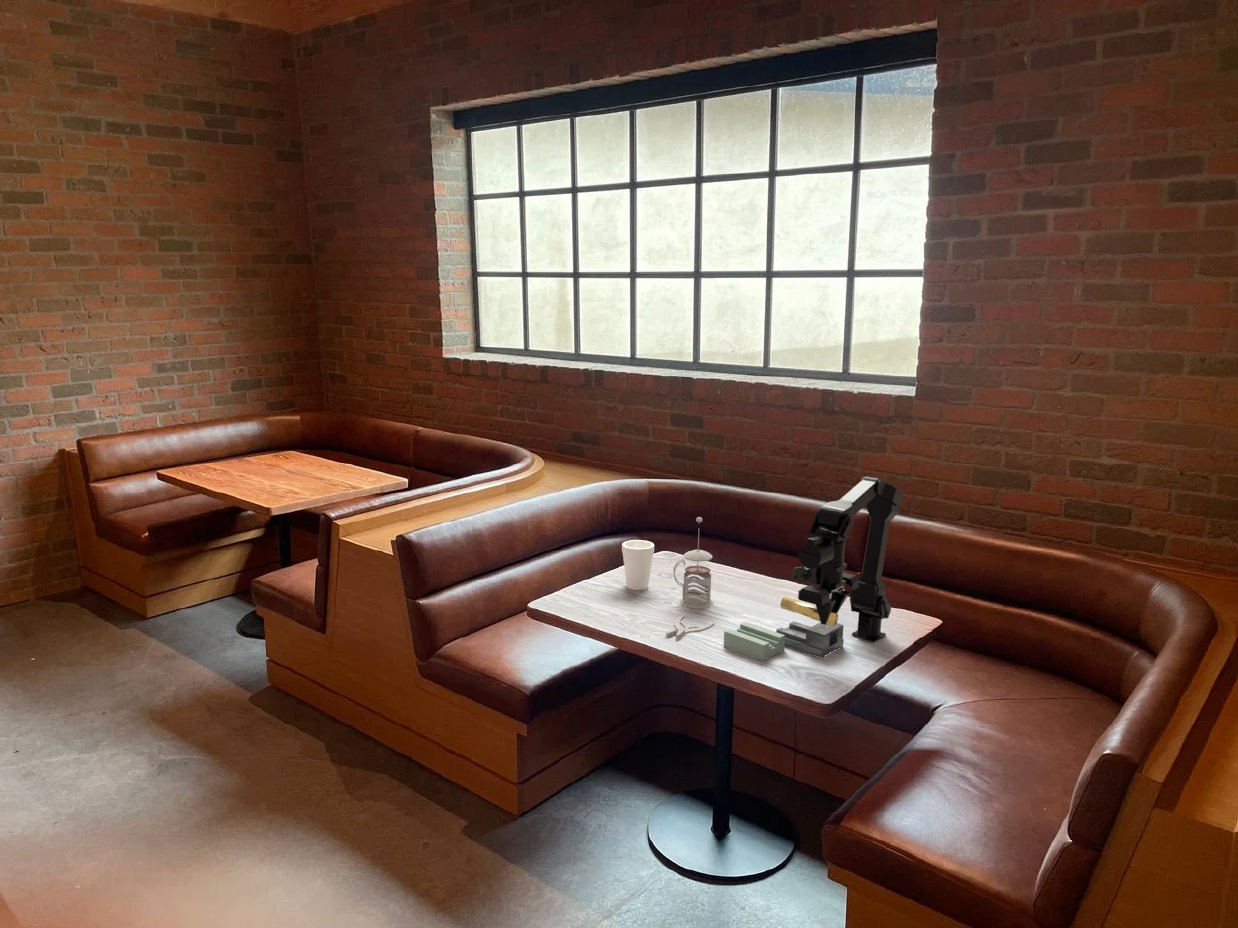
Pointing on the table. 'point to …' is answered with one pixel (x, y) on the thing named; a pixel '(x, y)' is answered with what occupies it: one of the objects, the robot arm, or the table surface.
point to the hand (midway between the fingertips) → (827, 622)
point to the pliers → (680, 630)
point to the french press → (696, 579)
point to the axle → (806, 610)
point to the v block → (754, 641)
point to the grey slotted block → (813, 637)
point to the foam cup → (637, 563)
